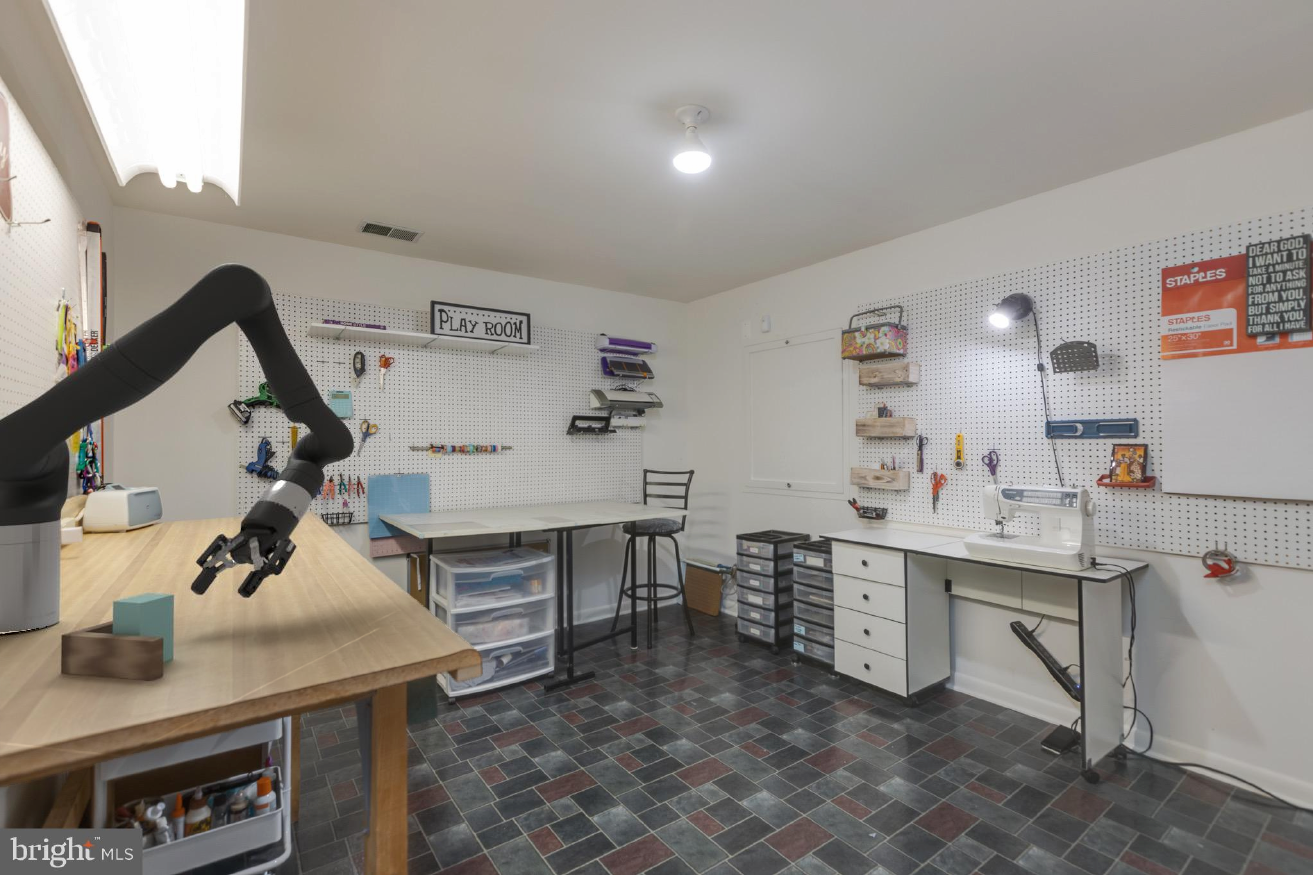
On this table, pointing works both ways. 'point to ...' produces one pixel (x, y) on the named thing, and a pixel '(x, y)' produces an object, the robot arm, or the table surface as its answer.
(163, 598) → the teal block
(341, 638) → the table surface
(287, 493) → the robot arm
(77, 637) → the walnut corner
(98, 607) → the table surface
